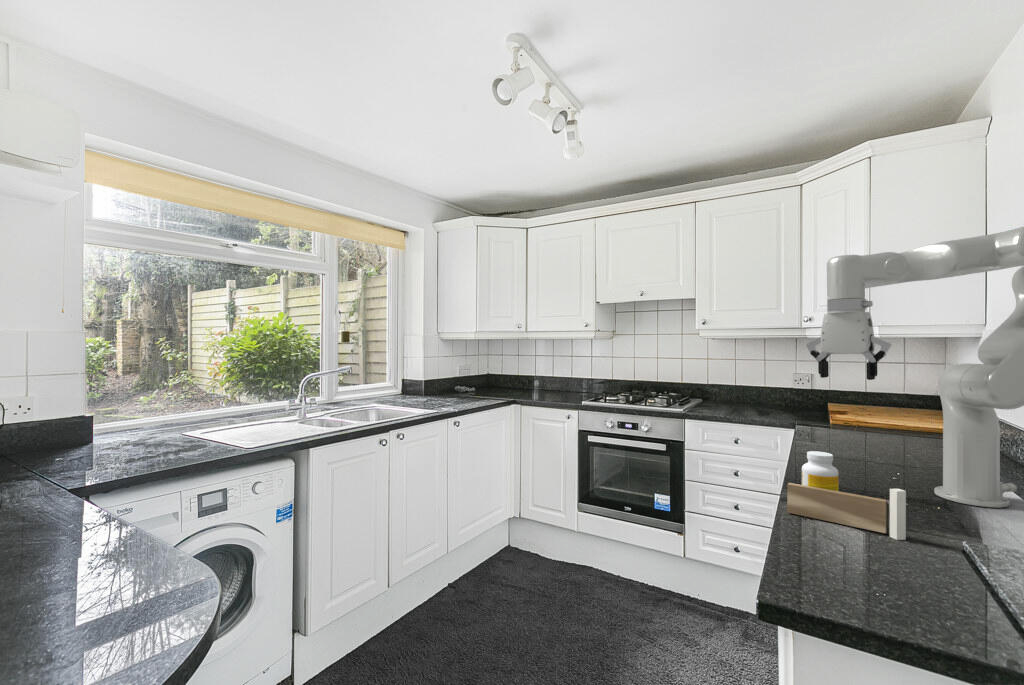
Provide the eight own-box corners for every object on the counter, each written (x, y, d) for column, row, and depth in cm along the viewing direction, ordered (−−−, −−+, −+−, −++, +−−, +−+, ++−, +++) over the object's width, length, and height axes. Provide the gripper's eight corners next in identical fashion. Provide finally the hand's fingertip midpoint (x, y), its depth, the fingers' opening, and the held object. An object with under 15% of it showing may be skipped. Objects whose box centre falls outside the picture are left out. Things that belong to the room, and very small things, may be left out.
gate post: (898, 536, 89) (898, 488, 89) (905, 539, 88) (905, 491, 88) (889, 536, 89) (889, 488, 89) (896, 539, 87) (896, 491, 87)
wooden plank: (788, 510, 102) (788, 482, 102) (893, 533, 90) (893, 500, 90) (787, 512, 101) (787, 483, 101) (893, 535, 89) (893, 502, 89)
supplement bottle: (846, 519, 98) (846, 457, 98) (813, 519, 98) (814, 457, 98) (825, 508, 104) (825, 450, 104) (795, 508, 104) (795, 449, 104)
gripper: (895, 305, 109) (896, 379, 109) (813, 310, 123) (814, 375, 123) (884, 304, 105) (885, 381, 105) (800, 309, 119) (801, 377, 119)
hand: (846, 378), depth 114 cm, fingers open, 9 cm apart
